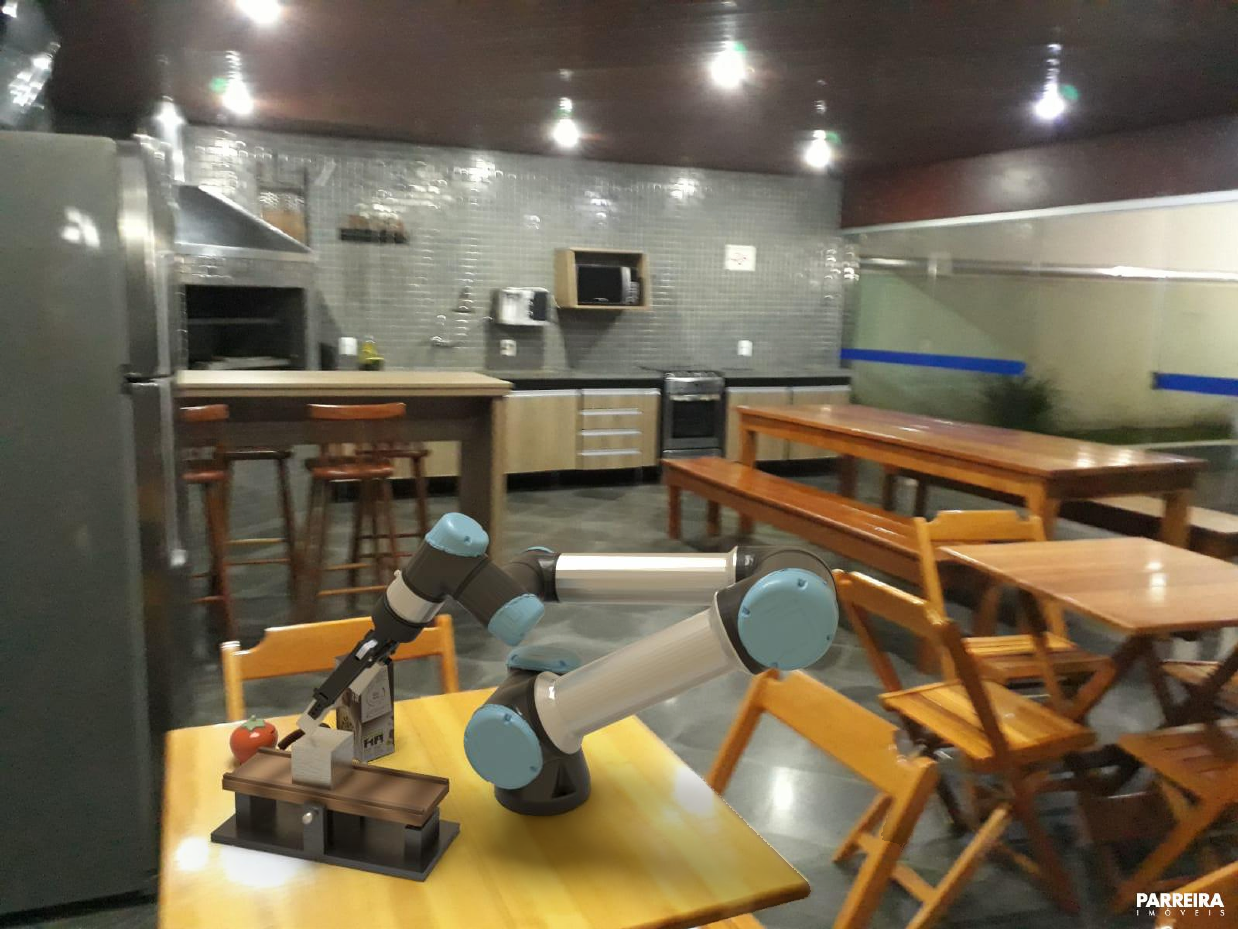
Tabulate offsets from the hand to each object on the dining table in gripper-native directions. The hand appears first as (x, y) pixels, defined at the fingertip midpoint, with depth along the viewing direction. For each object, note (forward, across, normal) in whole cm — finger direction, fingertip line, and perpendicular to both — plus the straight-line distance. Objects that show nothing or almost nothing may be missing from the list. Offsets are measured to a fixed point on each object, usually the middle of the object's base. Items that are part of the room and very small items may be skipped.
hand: (329, 708), depth 128 cm
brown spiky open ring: (+18, -8, +2) cm, 20 cm away
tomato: (+24, -8, -6) cm, 26 cm away
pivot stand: (+10, +7, +13) cm, 18 cm away
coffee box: (+15, -17, +6) cm, 24 cm away
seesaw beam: (+4, +7, +9) cm, 12 cm away
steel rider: (+4, +7, +6) cm, 10 cm away
